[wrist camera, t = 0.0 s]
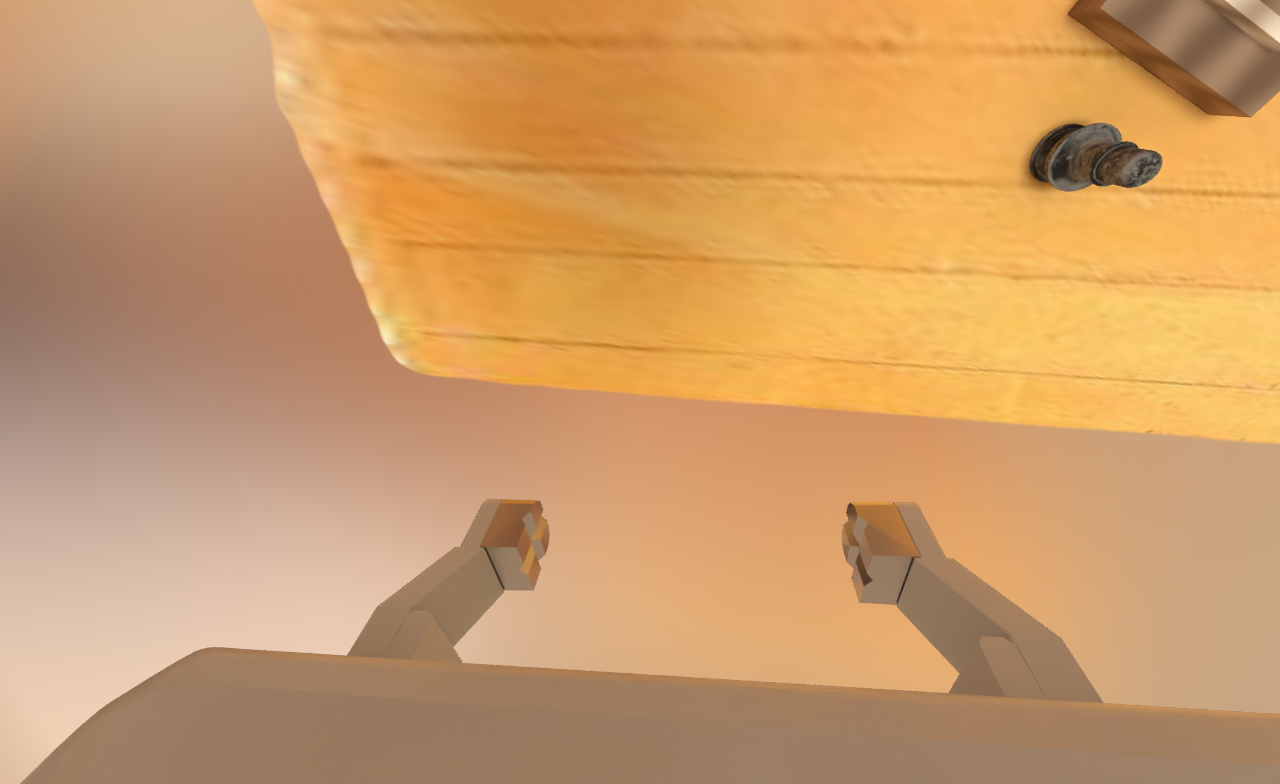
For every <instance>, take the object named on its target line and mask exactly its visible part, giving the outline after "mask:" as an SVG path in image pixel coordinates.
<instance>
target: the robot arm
mask: <svg viewBox="0 0 1280 784" xmlns="http://www.w3.org/2000/svg"><path fill="white" fill-rule="evenodd" d="M542 512H543V508H542V505H541V502H540V501H536V500H506V499H504V500H498V499H487V500H486V501H485V502H484V503H483V504H482V505H481V508H480V510H479V511H478V513H477V515H476V517H475V519H474V521H473V523H472V525H471V527H470V529H469V531H468V533H467V535H466V537H465V538H464V540H463V542H462V544H461V546H460V547H454V548H453V549H452V550H451V551H449V552H448V553H447V554H445V555H444V556H443V557H442V558H440V559H439V560H437V561H436V562H435V563H434V564H432V565H431V566H430V567H428V568H427V569H426V570H424V571H423V572H422V573H421V574H419V575H418V576H417V577H415V578H414V579H413V580H411V581H410V582H409V583H407V584H406V585H405V586H404V587H402V588H401V589H400V590H398V591H397V592H396V593H395V594H393V595H392V596H391V597H389V598H388V599H387V600H385V601H384V602H383V603H381V604H380V605H379V606H377V608H376V609H375V611H374V612H373V614H372V616H371V617H370V619H369V621H368V622H367V624H366V625H365V627H364V629H363V630H362V632H361V634H360V635H359V637H358V638H357V640H356V642H355V643H354V645H353V647H352V648H351V650H350V652H349V653H348V655H347V656H344V655H327V654H313V653H297V652H280V651H266V650H250V649H236V648H223V647H222V648H221V647H212V648H205V649H201V650H198V651H195V652H193V653H192V654H190V655H188V656H186V657H184V658H182V659H180V660H178V661H177V662H175V663H173V664H172V665H170V666H169V667H167V668H165V669H164V670H162V671H160V672H158V673H157V674H155V675H153V676H152V677H150V678H148V679H147V680H145V681H144V682H142V683H141V684H139V685H137V686H136V687H134V688H132V689H131V690H129V691H128V692H126V693H124V694H123V695H121V696H120V697H118V698H116V699H115V700H113V701H112V702H110V703H109V704H107V705H106V706H104V707H103V708H102V709H100V710H99V711H98V712H96V713H95V714H94V715H93V716H92V717H91V718H89V719H88V720H87V721H86V722H85V723H84V724H82V725H81V726H80V727H79V728H78V729H77V730H76V731H75V732H73V733H72V734H71V735H70V736H69V737H68V738H67V739H66V740H65V741H64V742H63V743H62V744H60V745H59V746H58V747H57V748H56V749H55V750H54V751H53V752H52V753H51V754H50V755H49V756H48V757H47V758H46V759H45V760H44V761H43V762H42V763H41V764H40V765H39V766H38V767H37V768H36V769H35V770H34V771H33V772H32V773H31V774H30V775H29V776H28V777H26V779H24V780H23V781H22V783H20V784H1280V714H1270V713H1254V712H1238V711H1222V710H1205V709H1190V708H1173V707H1158V706H1142V705H1125V704H1109V703H1103V701H1102V700H1101V698H1100V697H1099V695H1098V694H1097V692H1096V691H1095V689H1094V687H1093V686H1092V684H1091V683H1090V681H1089V680H1088V678H1087V677H1086V675H1085V674H1084V672H1083V671H1082V669H1081V668H1080V666H1079V664H1078V663H1077V661H1076V660H1075V658H1074V657H1073V655H1072V654H1071V652H1070V651H1069V649H1068V648H1067V646H1066V645H1065V643H1064V641H1063V640H1062V639H1061V638H1060V637H1059V636H1057V635H1056V634H1055V633H1053V632H1052V631H1051V630H1049V629H1048V628H1047V627H1045V626H1044V625H1043V624H1041V623H1040V622H1038V621H1037V620H1036V619H1034V618H1033V617H1032V616H1030V615H1029V614H1027V613H1026V612H1025V611H1024V610H1022V609H1021V608H1020V607H1018V606H1017V605H1015V604H1014V603H1013V602H1011V601H1010V600H1009V599H1007V598H1006V597H1005V596H1003V595H1002V594H1001V593H999V592H998V591H997V590H995V589H994V588H992V587H991V586H990V585H988V584H987V583H986V582H984V581H983V580H982V579H980V578H979V577H977V576H976V575H975V574H973V573H972V572H971V571H969V570H968V569H967V568H965V567H964V566H963V565H961V564H960V563H959V562H957V561H956V560H955V559H951V558H946V556H945V555H944V553H943V551H942V549H941V547H940V545H939V543H938V542H937V539H936V538H935V536H934V534H933V532H932V530H931V528H930V526H929V524H928V522H927V521H926V519H925V517H924V515H923V513H922V511H921V509H920V508H919V506H918V505H917V504H916V503H915V502H892V503H891V502H850V503H849V505H848V507H847V512H846V514H847V517H848V519H849V521H847V522H846V523H845V524H844V525H843V531H842V545H843V550H844V555H845V558H846V561H847V563H849V564H850V565H851V566H852V567H853V568H854V570H853V574H852V581H853V583H854V587H855V590H856V593H857V596H858V599H859V602H860V603H876V604H892V605H897V607H898V608H899V610H900V611H901V612H902V613H903V614H904V615H905V616H906V617H907V618H908V619H909V620H910V621H911V622H912V623H913V624H914V626H915V627H916V628H917V629H918V630H919V631H920V632H921V633H922V634H923V635H924V636H925V637H926V638H927V639H928V640H929V642H930V643H931V644H932V645H933V646H934V647H935V648H936V649H937V650H938V651H939V652H940V653H941V654H942V655H943V656H944V657H945V659H946V660H947V661H948V662H949V663H950V664H951V665H952V666H953V667H954V668H955V669H956V670H957V671H958V672H959V673H960V674H959V676H958V678H957V680H956V681H955V683H954V684H953V686H952V688H951V690H950V691H949V693H933V692H918V691H902V690H886V689H870V688H854V687H838V686H837V687H836V686H822V685H805V684H790V683H775V682H758V681H743V680H726V679H711V678H695V677H678V676H663V675H662V676H661V675H645V674H630V673H614V672H598V671H582V670H566V669H550V668H533V667H518V666H517V667H516V666H502V665H486V664H470V663H462V660H461V659H460V657H459V656H458V654H457V652H456V651H455V649H454V648H453V647H454V646H455V645H456V643H457V642H458V641H459V640H460V639H461V638H462V637H463V636H464V635H465V634H466V633H467V631H468V630H469V629H470V628H471V627H472V626H473V625H474V624H475V623H476V622H477V621H478V620H479V619H480V617H481V616H482V615H483V614H484V613H485V612H486V611H487V610H488V609H489V608H490V607H491V605H493V603H494V602H495V601H496V600H497V599H498V598H499V597H500V596H501V595H502V594H503V593H504V590H534V588H535V585H536V582H537V579H538V576H539V573H540V570H541V567H540V565H539V562H538V561H539V560H540V559H541V558H542V557H543V556H544V555H545V554H546V551H547V548H548V543H549V526H548V523H547V520H546V519H544V518H543V517H542V516H541V514H542Z"/></svg>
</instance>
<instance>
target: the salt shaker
mask: <svg viewBox="0 0 1280 784" xmlns="http://www.w3.org/2000/svg"><path fill="white" fill-rule="evenodd" d="M1161 166H1162V157H1161V155H1160V154H1159V153H1157V152H1155V151H1151V150H1145V149H1139V148H1138V146H1137V145H1136V144H1134V143H1133V142H1128V141H1126V142H1122V138H1121V134H1120V132H1119V131H1118V129H1117V128H1115V127H1114V126H1112V125H1110V124H1105V123H1096V124H1091V125H1088V126H1085V127H1084V126H1083V125H1079V124H1067V125H1064V126H1061V127H1059V128H1057V129H1055V130H1053V131H1051V132H1050V133H1049V134H1048V135H1046V136H1045V137H1044V138H1043V139H1042V140H1041V141H1040V142H1039V143H1038V145H1037V146H1036V148H1035V150H1034V151H1033V153H1032V156H1031V159H1030V170H1031V173H1032V174H1033V176H1034V177H1035V178H1036V179H1038V180H1040V181H1044V182H1050V183H1051V184H1052V186H1053V187H1055V188H1057V189H1058V190H1062V191H1077V190H1080V189H1084V188H1086V187H1088V186H1090V185H1092V184H1095V185H1097V186H1109V185H1113V184H1114V185H1118V186H1122V187H1126V188H1132V187H1138V186H1141V185H1143V184H1145V183H1147V182H1148V181H1150V180H1151V179H1153V178H1154V177H1155V176H1156V175H1157V174H1158V172H1159V171H1160V169H1161Z"/></svg>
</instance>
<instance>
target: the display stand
mask: <svg viewBox="0 0 1280 784" xmlns="http://www.w3.org/2000/svg"><path fill="white" fill-rule="evenodd" d="M1068 14H1069V15H1070V16H1072V17H1073V18H1074V19H1076V20H1077V21H1079V22H1080V23H1081V24H1083V25H1084V26H1086V27H1087V28H1088V29H1090V30H1091V31H1093V32H1094V33H1095V34H1097V35H1098V36H1100V37H1101V38H1102V39H1104V40H1105V41H1107V42H1108V43H1109V44H1111V45H1112V46H1114V47H1115V48H1116V49H1118V50H1119V51H1121V52H1122V53H1123V54H1125V55H1126V56H1128V57H1129V58H1130V59H1132V60H1133V61H1135V62H1136V63H1137V64H1139V65H1140V66H1142V67H1143V68H1144V69H1146V70H1147V71H1149V72H1150V73H1151V74H1153V75H1154V76H1156V77H1157V78H1158V79H1160V80H1161V81H1163V82H1164V83H1166V84H1167V85H1168V86H1170V87H1171V88H1173V89H1174V90H1175V91H1177V92H1178V93H1180V94H1181V95H1182V96H1184V97H1185V98H1187V99H1188V100H1189V101H1191V102H1192V103H1194V104H1195V105H1196V106H1198V107H1199V108H1201V109H1202V110H1203V111H1205V112H1206V113H1208V114H1209V115H1222V116H1238V117H1252V116H1253V115H1254V114H1255V113H1256V112H1257V111H1259V110H1260V109H1261V108H1262V107H1263V106H1264V105H1265V104H1266V103H1267V102H1268V101H1269V100H1271V99H1272V98H1273V97H1274V96H1275V95H1276V94H1277V93H1278V92H1279V91H1280V0H1078V2H1077V3H1076V4H1075V6H1074V7H1073V8H1072V9H1071V11H1070V12H1069V13H1068Z"/></svg>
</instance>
